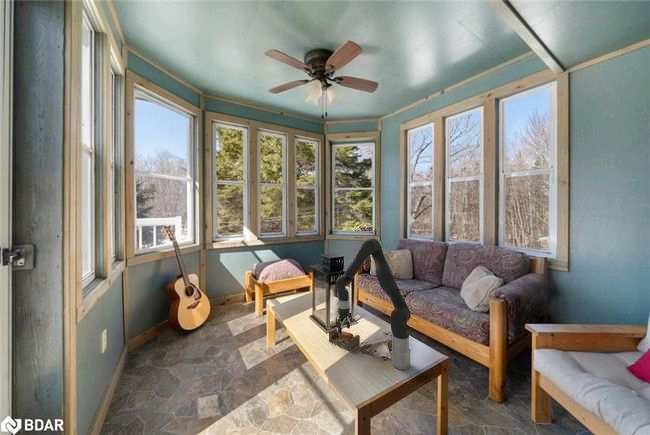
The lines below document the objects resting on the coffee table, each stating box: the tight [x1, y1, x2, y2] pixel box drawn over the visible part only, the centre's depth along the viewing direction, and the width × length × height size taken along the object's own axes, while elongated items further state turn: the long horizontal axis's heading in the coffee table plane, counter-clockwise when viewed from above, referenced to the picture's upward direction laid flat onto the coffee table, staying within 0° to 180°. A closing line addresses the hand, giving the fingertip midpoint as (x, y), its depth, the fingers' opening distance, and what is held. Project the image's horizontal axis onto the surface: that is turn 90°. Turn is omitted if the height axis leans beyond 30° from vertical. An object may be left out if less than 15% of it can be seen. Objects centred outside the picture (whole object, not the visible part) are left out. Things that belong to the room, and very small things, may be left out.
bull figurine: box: [336, 328, 355, 343], centre depth 165 cm, size 4×13×8 cm, turn 56°
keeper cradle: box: [328, 326, 361, 353], centre depth 165 cm, size 19×9×7 cm, turn 46°
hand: (344, 330), depth 164 cm, fingers open, 8 cm apart
